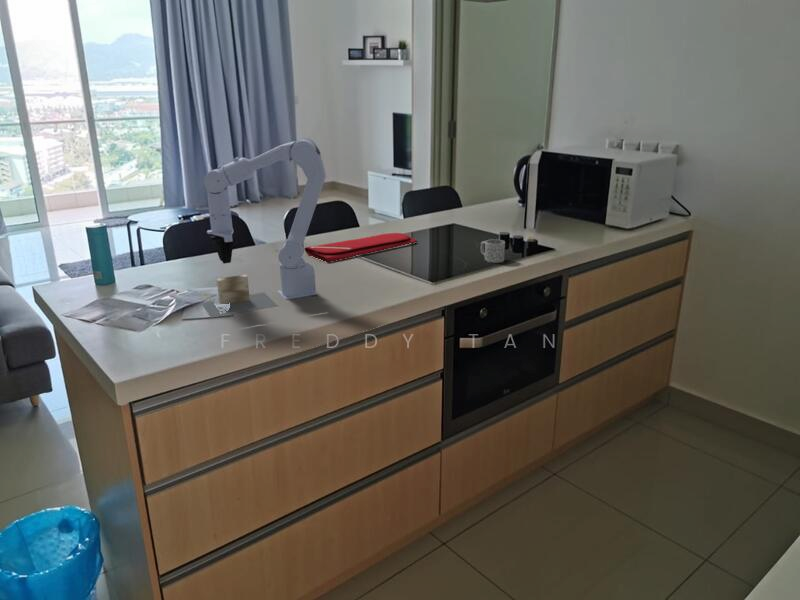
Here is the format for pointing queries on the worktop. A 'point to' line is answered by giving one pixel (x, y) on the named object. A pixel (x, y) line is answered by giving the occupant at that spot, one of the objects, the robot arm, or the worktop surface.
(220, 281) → the maple tile
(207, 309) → the rubber mat
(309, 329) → the worktop surface
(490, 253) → the mug
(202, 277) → the worktop surface
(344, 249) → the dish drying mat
